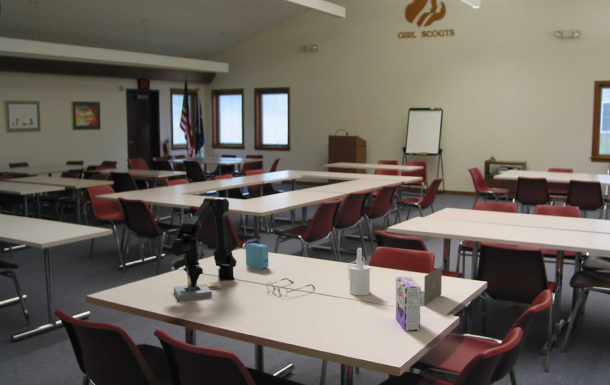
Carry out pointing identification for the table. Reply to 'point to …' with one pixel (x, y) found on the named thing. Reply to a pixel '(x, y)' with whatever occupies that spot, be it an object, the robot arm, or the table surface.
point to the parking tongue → (213, 285)
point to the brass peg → (191, 285)
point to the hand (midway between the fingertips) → (192, 285)
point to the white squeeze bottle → (359, 276)
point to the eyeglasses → (284, 286)
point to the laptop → (431, 287)
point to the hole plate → (192, 292)
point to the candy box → (408, 303)
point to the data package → (257, 255)
